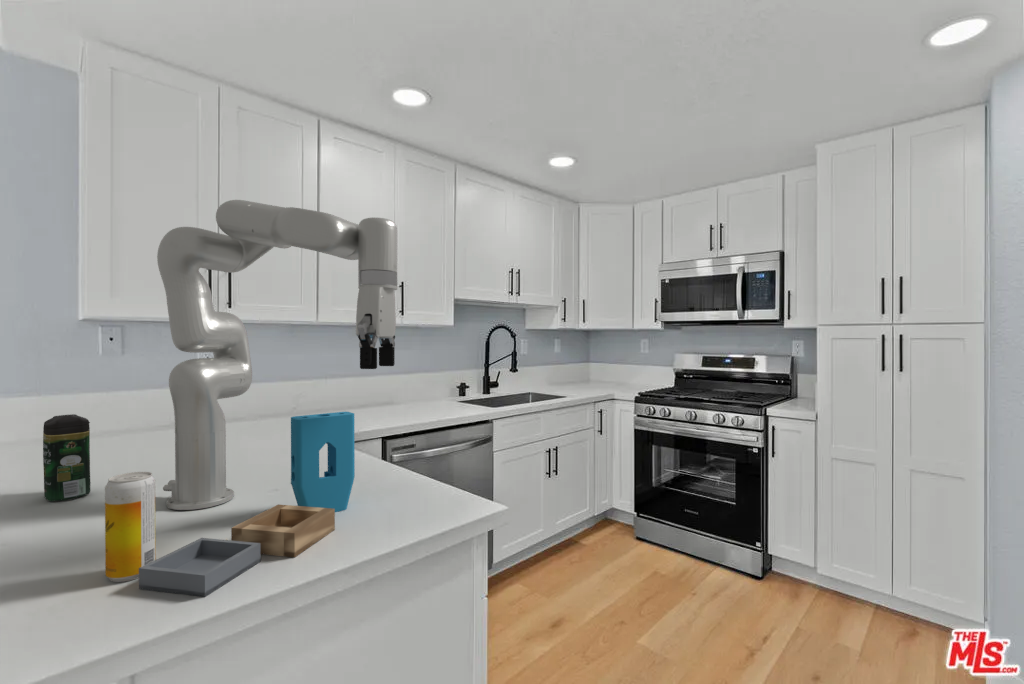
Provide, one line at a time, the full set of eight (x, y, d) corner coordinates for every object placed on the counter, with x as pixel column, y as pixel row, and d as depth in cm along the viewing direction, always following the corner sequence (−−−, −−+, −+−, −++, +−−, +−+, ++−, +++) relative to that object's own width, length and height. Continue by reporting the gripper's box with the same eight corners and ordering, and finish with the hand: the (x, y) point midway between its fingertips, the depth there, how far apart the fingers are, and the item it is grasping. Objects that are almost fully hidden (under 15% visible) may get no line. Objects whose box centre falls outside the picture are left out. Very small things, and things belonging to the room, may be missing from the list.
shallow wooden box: (231, 551, 84) (231, 527, 84) (278, 525, 95) (278, 504, 95) (294, 557, 81) (294, 533, 81) (334, 529, 93) (334, 508, 93)
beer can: (123, 565, 78) (123, 471, 78) (164, 564, 79) (163, 470, 79) (95, 584, 72) (94, 482, 72) (139, 582, 73) (138, 481, 73)
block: (297, 520, 98) (297, 419, 98) (289, 514, 101) (289, 416, 101) (356, 507, 105) (355, 413, 105) (347, 501, 109) (346, 411, 109)
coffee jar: (41, 495, 113) (41, 415, 113) (87, 488, 119) (86, 411, 119) (45, 505, 107) (44, 419, 107) (93, 496, 113) (92, 415, 112)
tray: (139, 588, 71) (138, 568, 71) (201, 555, 82) (201, 537, 82) (205, 596, 69) (204, 575, 69) (260, 561, 80) (260, 543, 80)
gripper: (376, 286, 108) (376, 365, 108) (340, 276, 90) (340, 370, 90) (409, 286, 107) (409, 365, 107) (380, 276, 90) (380, 370, 90)
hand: (378, 367), depth 99 cm, fingers open, 9 cm apart
